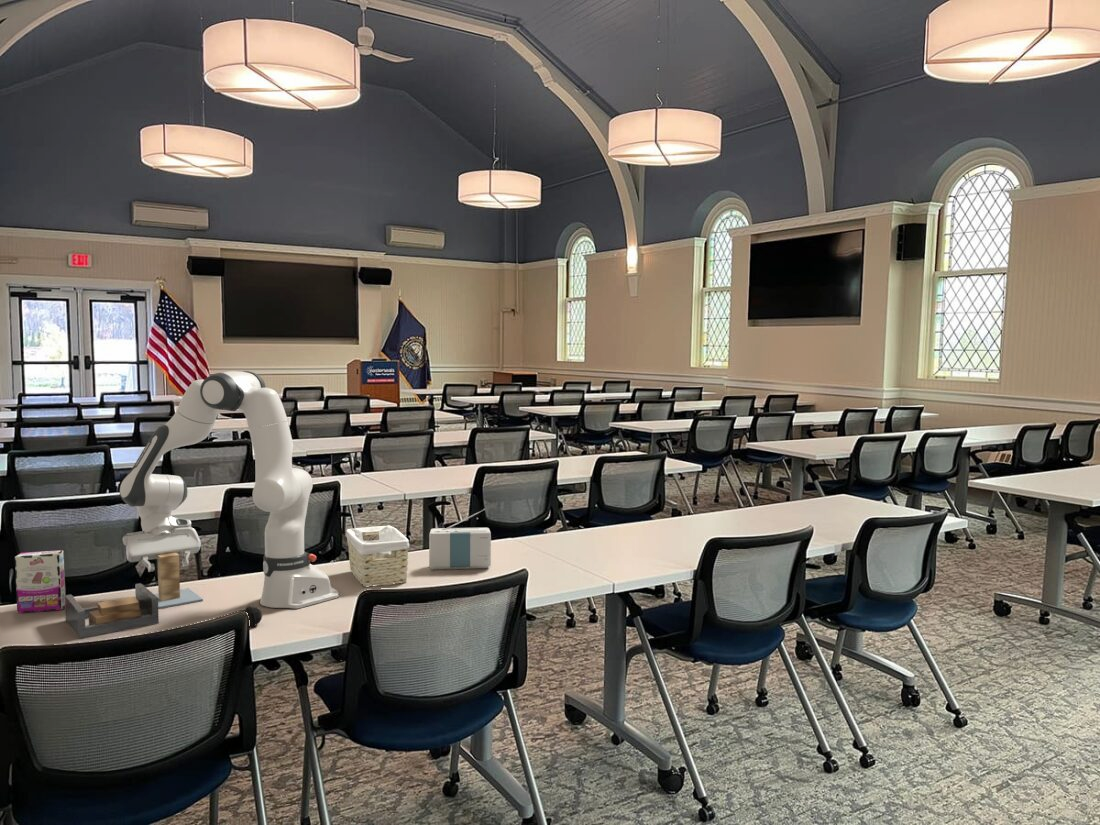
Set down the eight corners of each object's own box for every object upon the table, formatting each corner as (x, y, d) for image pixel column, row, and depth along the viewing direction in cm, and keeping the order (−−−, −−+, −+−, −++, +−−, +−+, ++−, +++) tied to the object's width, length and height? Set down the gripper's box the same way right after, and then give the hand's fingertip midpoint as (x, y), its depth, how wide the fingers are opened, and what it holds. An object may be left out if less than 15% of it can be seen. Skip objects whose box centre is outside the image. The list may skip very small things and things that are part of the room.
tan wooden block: (176, 595, 243) (175, 552, 242) (180, 597, 240) (178, 554, 239) (158, 598, 240) (157, 555, 239) (161, 601, 237) (160, 557, 236)
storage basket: (411, 584, 259) (410, 539, 258) (360, 590, 252) (359, 543, 251) (392, 566, 281) (392, 524, 280) (345, 571, 274) (344, 528, 273)
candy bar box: (66, 605, 234) (64, 549, 233) (61, 610, 230) (59, 553, 228) (22, 608, 231) (20, 551, 230) (16, 613, 226) (14, 556, 225)
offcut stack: (137, 616, 226) (136, 595, 225) (144, 623, 221) (144, 601, 220) (88, 626, 218) (88, 604, 217) (95, 632, 213) (94, 610, 212)
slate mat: (188, 590, 250) (188, 588, 250) (202, 601, 240) (202, 599, 239) (139, 598, 241) (139, 596, 241) (151, 610, 231) (151, 608, 230)
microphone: (187, 652, 208) (265, 627, 219) (185, 634, 205) (264, 610, 217) (181, 640, 211) (258, 616, 223) (179, 622, 209) (257, 599, 221)
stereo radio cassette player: (429, 571, 275) (429, 513, 273) (429, 565, 283) (429, 508, 281) (490, 570, 277) (491, 512, 276) (489, 563, 286) (489, 507, 284)
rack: (141, 607, 233) (140, 583, 233) (158, 623, 220) (158, 598, 219) (65, 620, 221) (64, 595, 221) (79, 638, 207) (78, 611, 207)
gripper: (122, 528, 237) (132, 567, 230) (195, 519, 250) (206, 556, 243) (119, 540, 241) (128, 579, 234) (191, 531, 254) (202, 568, 247)
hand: (169, 567), depth 239 cm, fingers open, 8 cm apart
